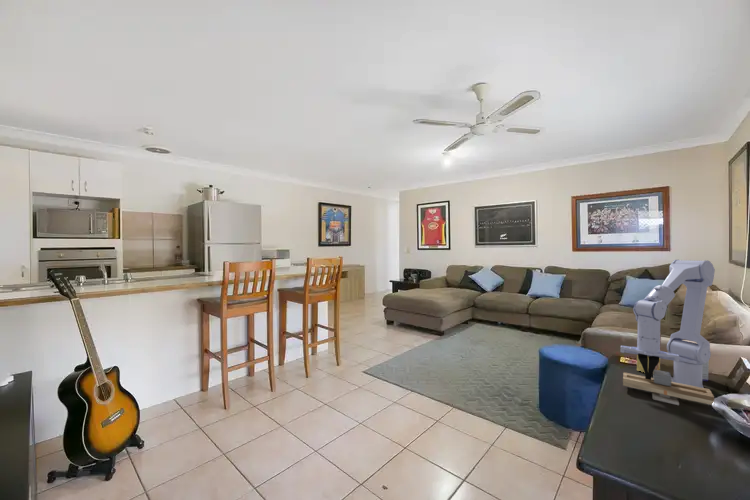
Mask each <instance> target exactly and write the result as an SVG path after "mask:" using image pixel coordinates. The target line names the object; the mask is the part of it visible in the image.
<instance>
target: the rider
mask: <svg viewBox="0 0 750 500" xmlns="http://www.w3.org/2000/svg"><path fill="white" fill-rule="evenodd" d="M671 377H672V375H671V372H670V371H665V370H661V369H660V370H654V371H653V373H652V378H653V380H654V383H656V384H661V385H666V386H671V382H672V381H671Z"/></svg>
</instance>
